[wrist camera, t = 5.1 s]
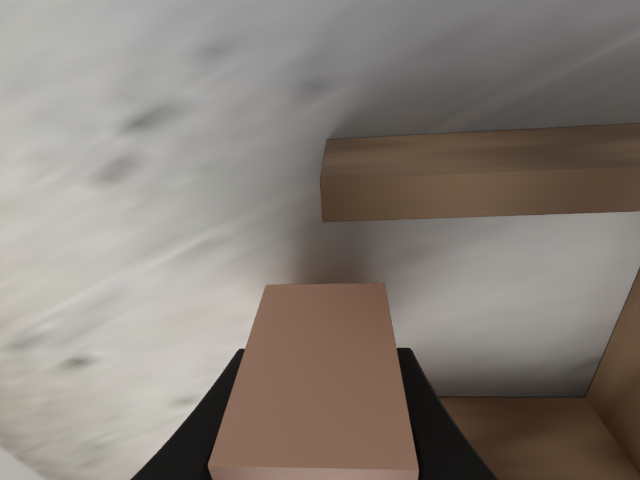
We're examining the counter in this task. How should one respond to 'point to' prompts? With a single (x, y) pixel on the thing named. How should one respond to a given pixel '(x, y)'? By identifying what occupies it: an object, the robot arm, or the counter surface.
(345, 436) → the terracotta block
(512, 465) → the open-sided box
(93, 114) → the counter surface
